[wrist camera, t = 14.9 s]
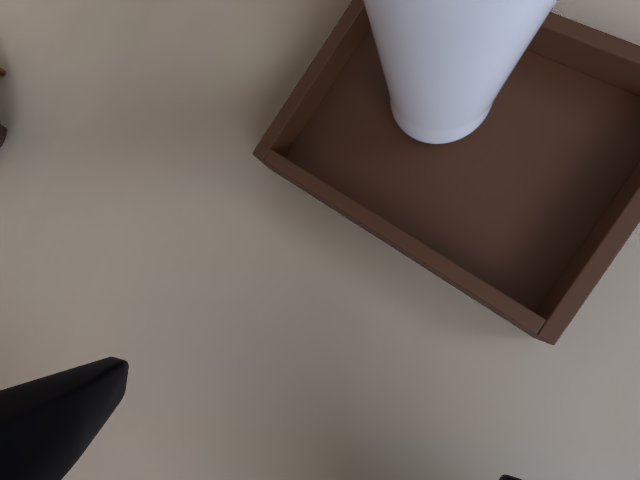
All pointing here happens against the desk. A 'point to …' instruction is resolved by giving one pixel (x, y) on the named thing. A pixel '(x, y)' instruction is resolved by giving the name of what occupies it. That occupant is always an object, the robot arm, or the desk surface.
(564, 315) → the tray
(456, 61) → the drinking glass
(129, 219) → the desk surface
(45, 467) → the robot arm
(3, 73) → the pottery mug
